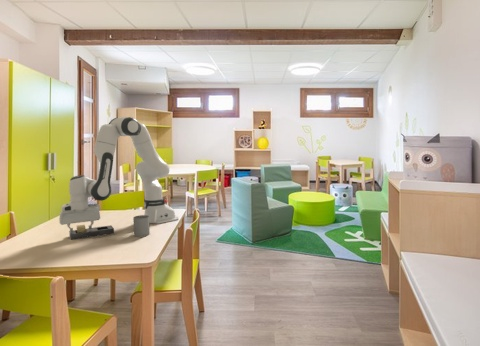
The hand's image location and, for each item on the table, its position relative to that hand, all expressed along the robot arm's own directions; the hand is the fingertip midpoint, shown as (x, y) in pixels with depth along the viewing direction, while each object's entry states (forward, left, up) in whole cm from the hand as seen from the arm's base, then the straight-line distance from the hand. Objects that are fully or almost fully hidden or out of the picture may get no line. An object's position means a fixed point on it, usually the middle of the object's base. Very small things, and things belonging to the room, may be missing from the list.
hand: (81, 230), depth 187 cm
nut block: (0, 0, -4) cm, 4 cm away
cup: (-29, +14, -4) cm, 33 cm away
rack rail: (-5, 0, -4) cm, 7 cm away
